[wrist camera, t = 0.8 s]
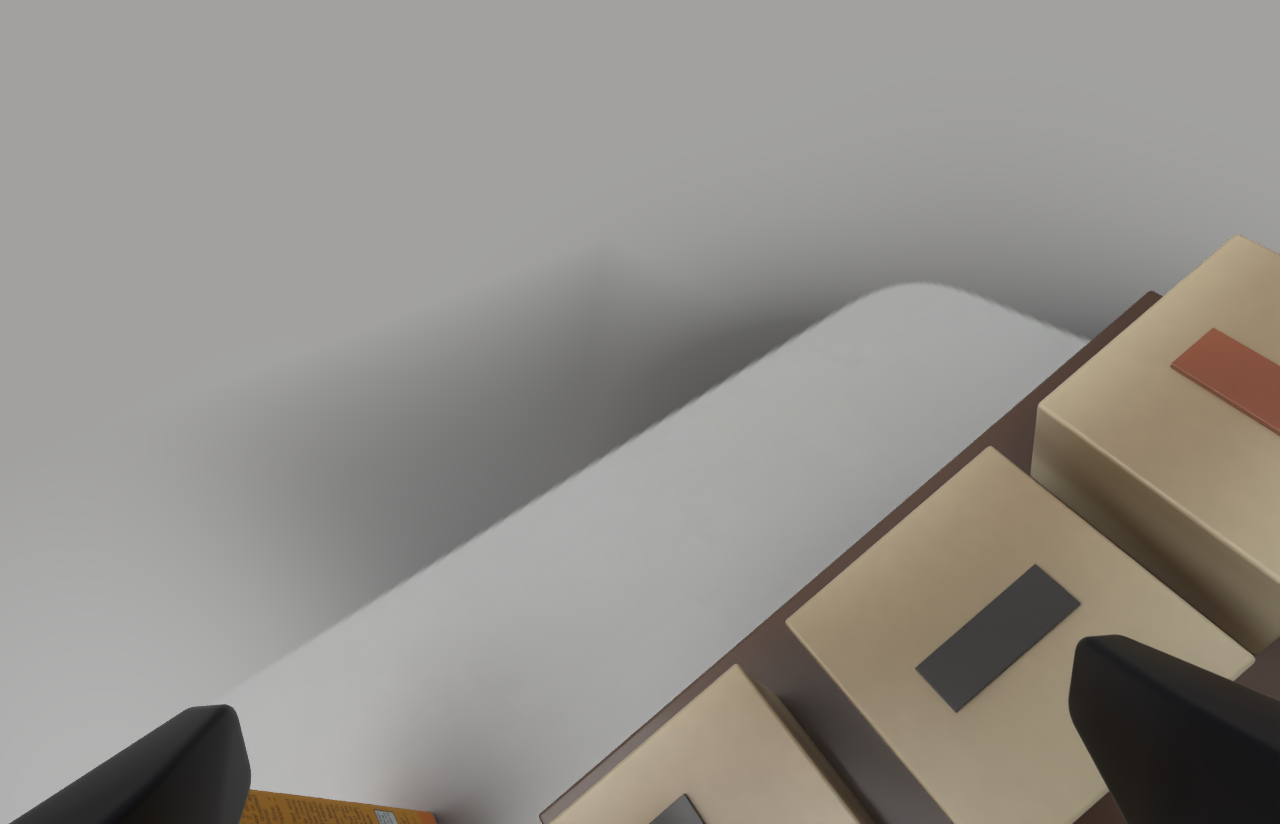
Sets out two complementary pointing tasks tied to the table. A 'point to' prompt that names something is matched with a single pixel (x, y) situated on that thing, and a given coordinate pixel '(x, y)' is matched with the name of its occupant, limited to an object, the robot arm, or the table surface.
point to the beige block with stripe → (1185, 441)
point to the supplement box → (323, 811)
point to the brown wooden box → (919, 667)
